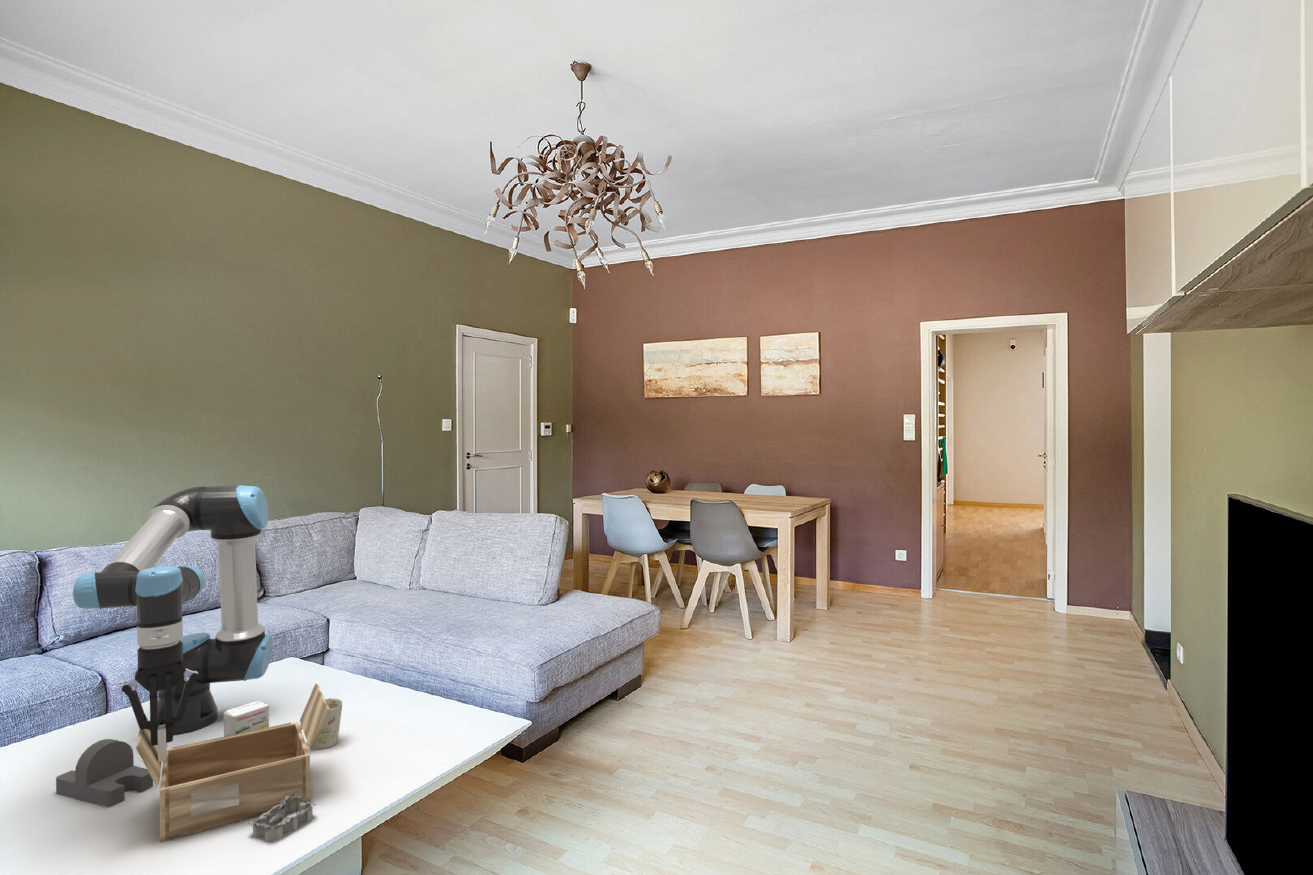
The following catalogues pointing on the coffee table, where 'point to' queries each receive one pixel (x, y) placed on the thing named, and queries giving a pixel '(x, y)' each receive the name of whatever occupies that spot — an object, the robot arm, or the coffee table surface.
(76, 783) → the bracket
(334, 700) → the mug
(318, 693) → the flap
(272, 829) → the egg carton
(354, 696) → the coffee table surface
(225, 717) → the ink box
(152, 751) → the flap
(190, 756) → the light wood open box
